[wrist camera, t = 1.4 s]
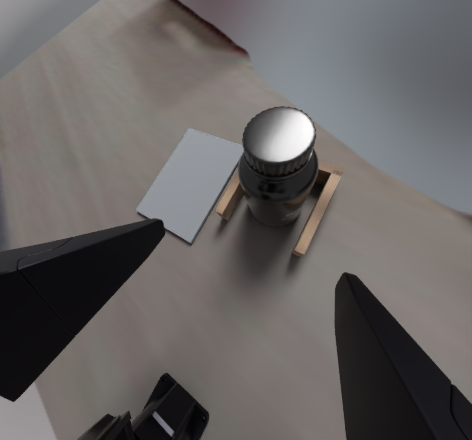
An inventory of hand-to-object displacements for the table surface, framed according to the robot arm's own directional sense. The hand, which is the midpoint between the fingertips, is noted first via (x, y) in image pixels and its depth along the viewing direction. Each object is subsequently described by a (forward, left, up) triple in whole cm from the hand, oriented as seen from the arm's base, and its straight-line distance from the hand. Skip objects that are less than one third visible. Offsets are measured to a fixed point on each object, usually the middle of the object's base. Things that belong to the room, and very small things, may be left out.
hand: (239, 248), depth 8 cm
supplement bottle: (+8, +2, -14) cm, 16 cm away
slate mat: (+6, +15, -13) cm, 21 cm away
